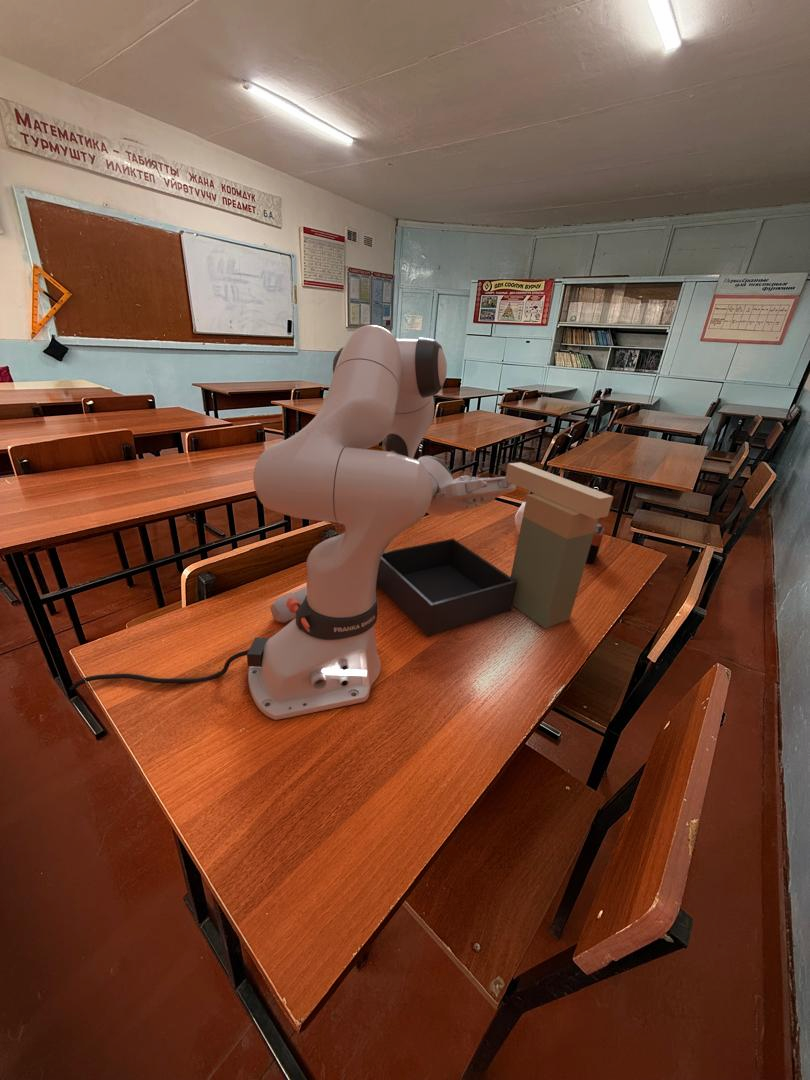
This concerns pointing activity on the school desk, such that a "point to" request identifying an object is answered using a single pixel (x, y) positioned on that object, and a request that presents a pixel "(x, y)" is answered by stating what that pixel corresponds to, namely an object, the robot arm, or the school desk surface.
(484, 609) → the bin
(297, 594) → the tube
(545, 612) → the stand
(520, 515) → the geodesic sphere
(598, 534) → the battery
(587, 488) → the cream rectangular beam
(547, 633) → the school desk surface
